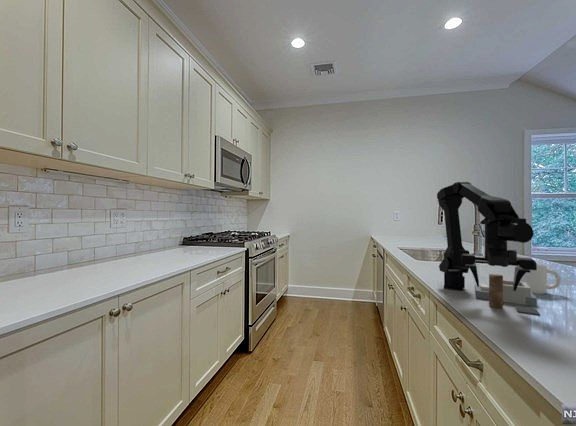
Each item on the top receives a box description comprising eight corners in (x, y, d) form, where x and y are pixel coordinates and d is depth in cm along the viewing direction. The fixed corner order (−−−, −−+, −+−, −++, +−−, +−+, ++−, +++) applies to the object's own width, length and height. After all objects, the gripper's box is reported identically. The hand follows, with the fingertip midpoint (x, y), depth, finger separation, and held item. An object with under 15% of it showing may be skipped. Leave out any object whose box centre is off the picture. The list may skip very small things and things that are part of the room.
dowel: (489, 307, 87) (489, 275, 87) (488, 304, 90) (488, 273, 90) (503, 309, 85) (503, 277, 85) (502, 306, 88) (502, 274, 88)
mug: (560, 292, 102) (560, 264, 102) (561, 297, 96) (561, 268, 96) (518, 286, 110) (518, 261, 110) (517, 291, 104) (517, 264, 104)
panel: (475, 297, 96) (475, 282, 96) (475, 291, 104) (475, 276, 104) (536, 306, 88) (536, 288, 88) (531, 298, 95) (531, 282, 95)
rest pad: (517, 312, 82) (517, 310, 82) (515, 307, 87) (515, 306, 87) (540, 315, 80) (540, 314, 80) (536, 310, 84) (536, 309, 84)
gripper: (460, 239, 85) (460, 290, 86) (541, 243, 75) (541, 300, 76) (460, 237, 95) (460, 282, 95) (532, 239, 85) (532, 290, 85)
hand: (495, 288), depth 87 cm, fingers open, 9 cm apart
